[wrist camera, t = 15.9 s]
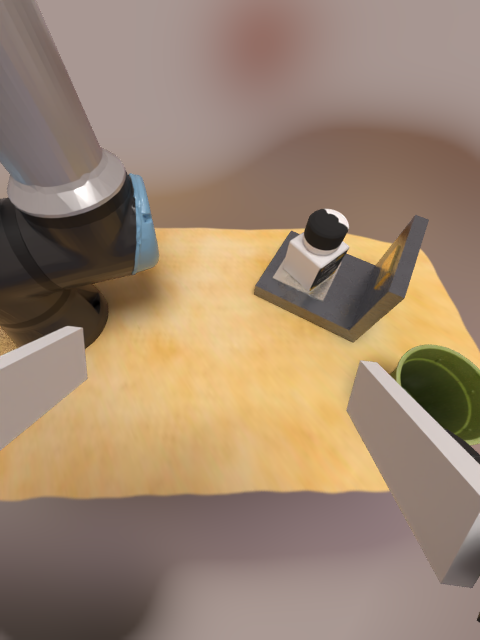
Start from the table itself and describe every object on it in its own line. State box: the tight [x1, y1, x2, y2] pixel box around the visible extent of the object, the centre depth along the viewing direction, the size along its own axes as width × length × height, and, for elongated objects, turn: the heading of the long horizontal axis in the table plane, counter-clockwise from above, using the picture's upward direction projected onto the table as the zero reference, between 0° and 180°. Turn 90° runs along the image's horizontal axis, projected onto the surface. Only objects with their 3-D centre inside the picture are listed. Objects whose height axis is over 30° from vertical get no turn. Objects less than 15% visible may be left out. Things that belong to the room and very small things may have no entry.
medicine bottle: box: [283, 209, 349, 291], centre depth 42 cm, size 7×7×12 cm
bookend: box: [254, 215, 429, 342], centre depth 43 cm, size 20×16×15 cm
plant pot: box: [390, 345, 480, 445], centre depth 35 cm, size 12×12×11 cm
